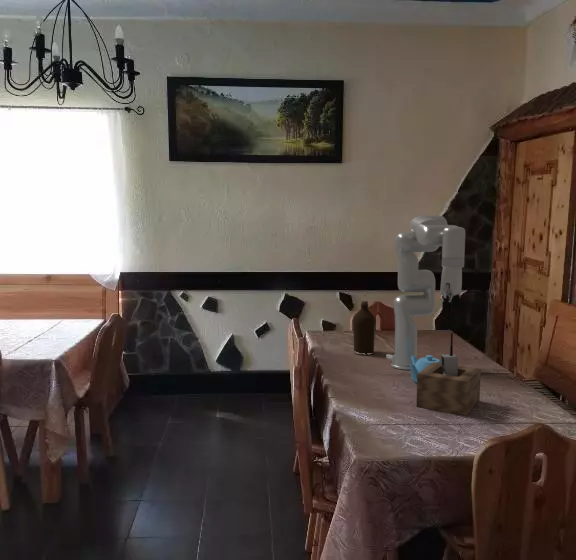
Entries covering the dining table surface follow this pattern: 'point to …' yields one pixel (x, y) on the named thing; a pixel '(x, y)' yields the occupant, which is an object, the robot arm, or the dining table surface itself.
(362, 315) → the olive oil
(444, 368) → the vintage mobile phone
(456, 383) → the well block
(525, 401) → the dining table surface
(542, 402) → the dining table surface
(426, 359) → the teapot
